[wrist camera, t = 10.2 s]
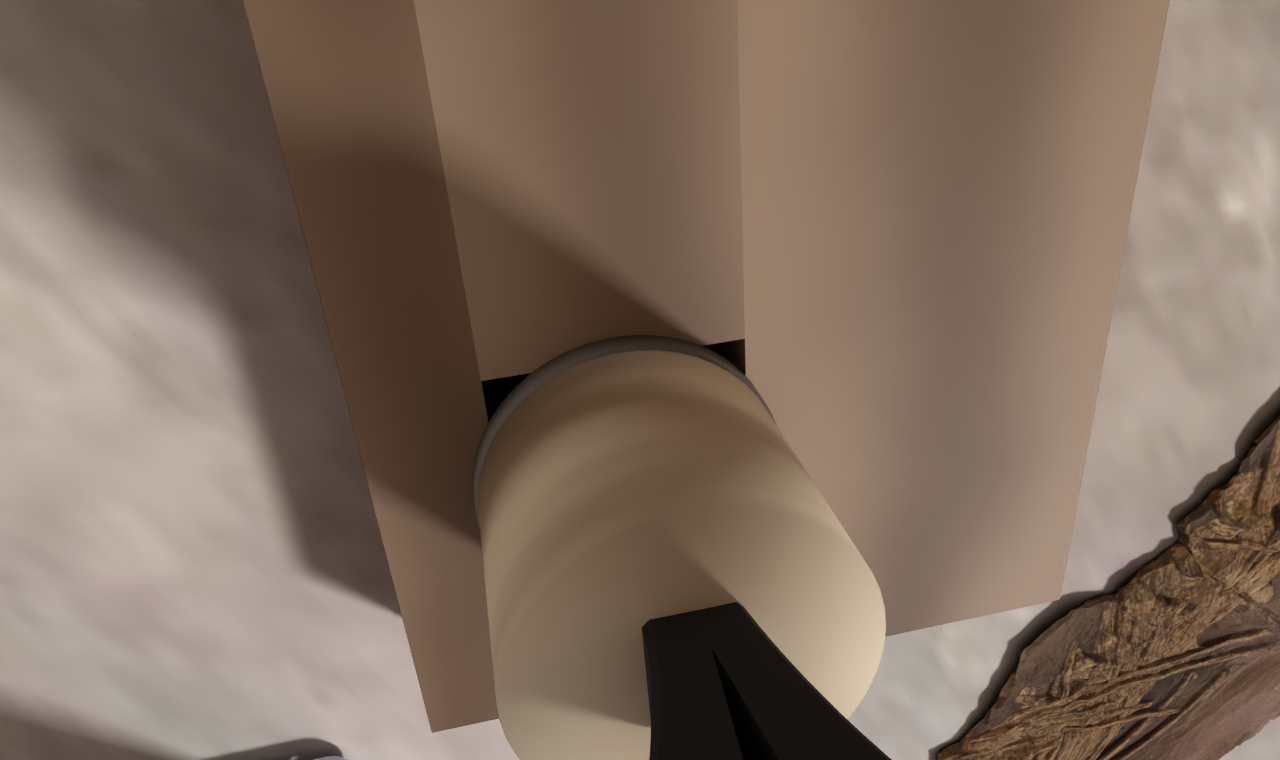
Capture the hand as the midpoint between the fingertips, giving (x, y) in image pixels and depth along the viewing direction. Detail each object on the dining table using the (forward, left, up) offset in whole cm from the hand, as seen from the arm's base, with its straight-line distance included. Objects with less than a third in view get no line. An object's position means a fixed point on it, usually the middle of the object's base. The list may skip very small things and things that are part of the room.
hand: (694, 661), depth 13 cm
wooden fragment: (+16, -13, -8) cm, 22 cm away
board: (+2, +3, -8) cm, 9 cm away
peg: (0, 0, -7) cm, 7 cm away
